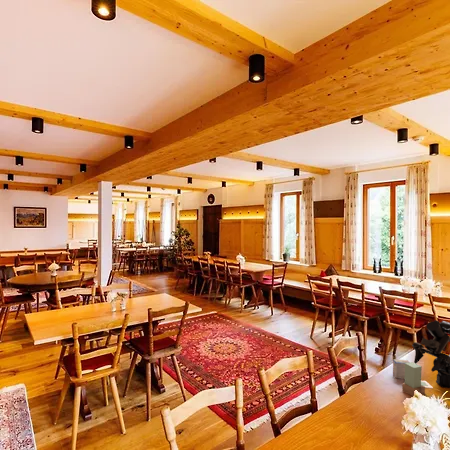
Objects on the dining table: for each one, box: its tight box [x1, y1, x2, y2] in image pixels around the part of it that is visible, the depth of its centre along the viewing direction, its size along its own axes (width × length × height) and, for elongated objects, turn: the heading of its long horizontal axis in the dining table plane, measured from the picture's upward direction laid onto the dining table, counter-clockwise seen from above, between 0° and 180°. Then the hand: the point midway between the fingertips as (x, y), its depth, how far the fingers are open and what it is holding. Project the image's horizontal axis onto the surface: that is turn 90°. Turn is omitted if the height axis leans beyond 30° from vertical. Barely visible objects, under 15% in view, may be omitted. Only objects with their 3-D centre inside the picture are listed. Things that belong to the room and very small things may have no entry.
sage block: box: [404, 361, 423, 388], centre depth 155 cm, size 5×5×10 cm
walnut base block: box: [401, 382, 426, 397], centre depth 155 cm, size 7×7×4 cm
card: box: [421, 380, 434, 389], centre depth 163 cm, size 7×7×1 cm
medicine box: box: [392, 358, 411, 380], centre depth 171 cm, size 8×4×9 cm, turn 84°
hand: (423, 366), depth 157 cm, fingers open, 9 cm apart
